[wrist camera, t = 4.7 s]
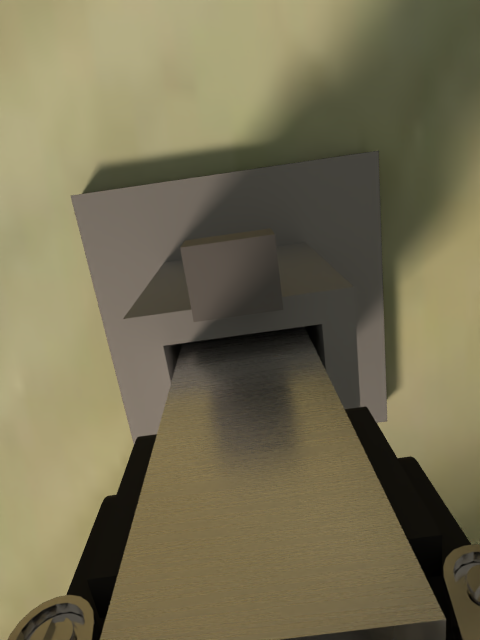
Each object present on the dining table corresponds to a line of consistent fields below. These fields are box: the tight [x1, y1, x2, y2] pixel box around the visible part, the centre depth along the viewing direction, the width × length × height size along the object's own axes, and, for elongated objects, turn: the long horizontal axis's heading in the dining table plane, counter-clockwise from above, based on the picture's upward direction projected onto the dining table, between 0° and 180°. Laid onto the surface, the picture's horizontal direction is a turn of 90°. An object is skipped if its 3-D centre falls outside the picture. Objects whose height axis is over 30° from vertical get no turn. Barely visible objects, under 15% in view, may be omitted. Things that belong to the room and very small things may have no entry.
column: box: [100, 327, 446, 640], centre depth 13 cm, size 4×4×17 cm
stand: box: [71, 151, 387, 444], centre depth 18 cm, size 14×14×11 cm
